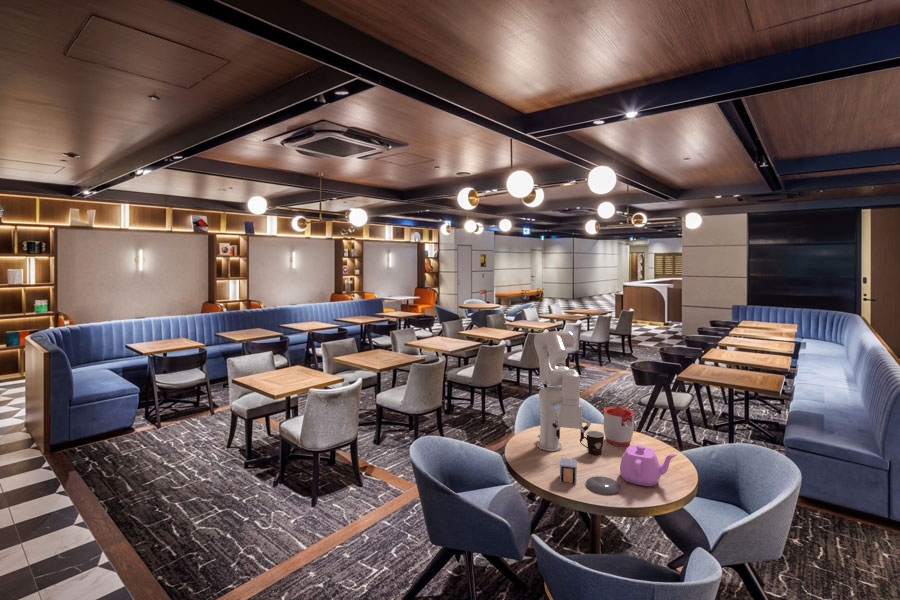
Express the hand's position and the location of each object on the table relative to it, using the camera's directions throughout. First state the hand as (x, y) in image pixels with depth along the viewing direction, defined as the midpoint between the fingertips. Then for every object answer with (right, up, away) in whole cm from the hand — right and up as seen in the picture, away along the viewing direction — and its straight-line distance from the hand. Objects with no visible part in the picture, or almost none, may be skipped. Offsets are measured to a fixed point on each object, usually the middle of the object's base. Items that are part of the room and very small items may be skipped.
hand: (570, 439), depth 198 cm
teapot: (+32, -19, +2) cm, 37 cm away
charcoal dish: (+13, -19, -5) cm, 24 cm away
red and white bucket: (+37, -15, +42) cm, 58 cm away
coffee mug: (+19, -16, +30) cm, 39 cm away
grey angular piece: (0, -19, +1) cm, 19 cm away
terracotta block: (0, -19, +1) cm, 19 cm away
